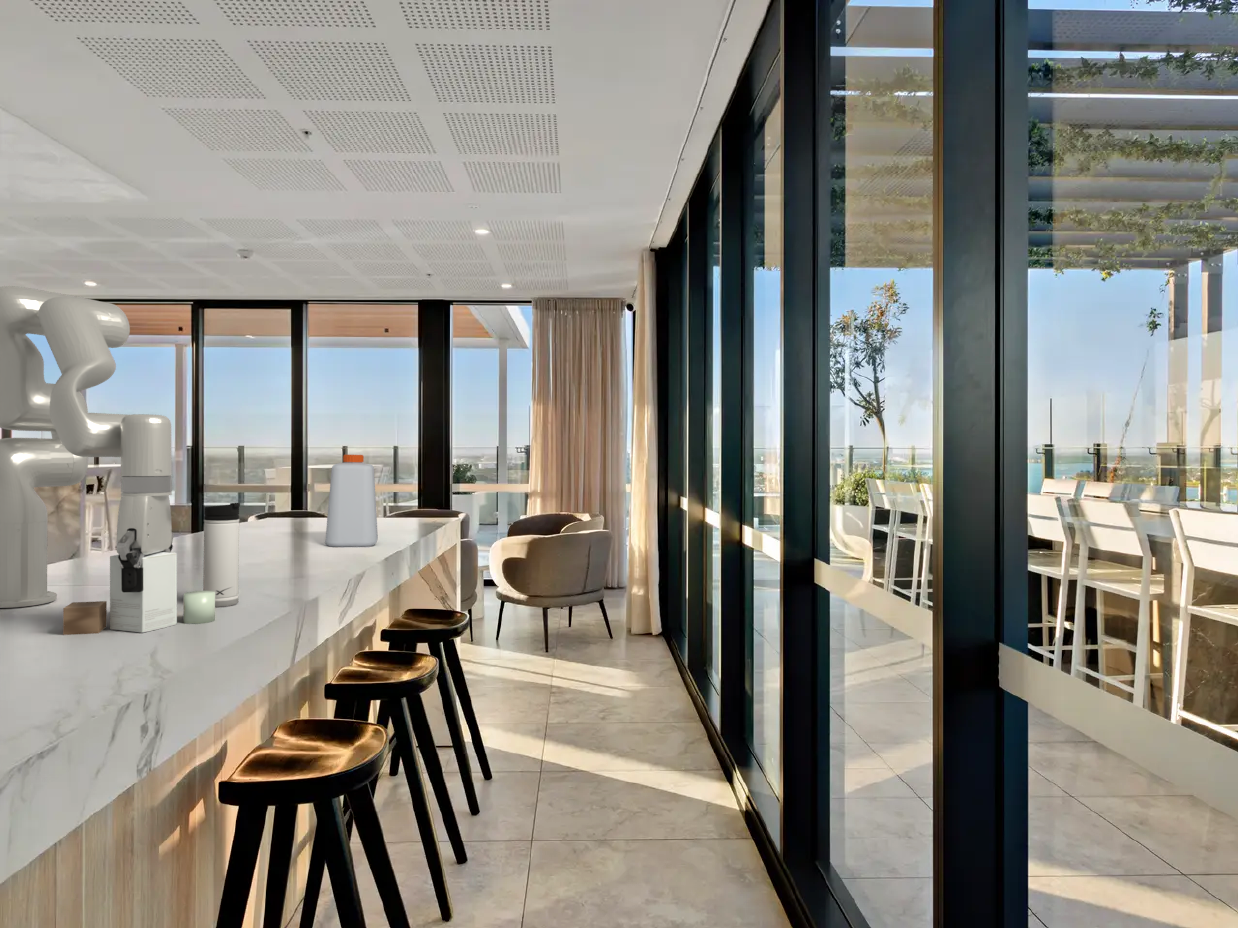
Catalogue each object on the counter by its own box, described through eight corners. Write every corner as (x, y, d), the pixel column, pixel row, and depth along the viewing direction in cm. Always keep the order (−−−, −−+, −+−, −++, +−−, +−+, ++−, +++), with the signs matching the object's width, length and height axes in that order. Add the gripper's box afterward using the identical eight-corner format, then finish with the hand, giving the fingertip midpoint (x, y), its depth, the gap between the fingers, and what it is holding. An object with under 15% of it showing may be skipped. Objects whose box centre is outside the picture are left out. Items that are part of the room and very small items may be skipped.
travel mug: (225, 608, 157) (227, 504, 157) (195, 606, 159) (196, 502, 158) (246, 602, 163) (248, 501, 163) (217, 600, 165) (218, 500, 164)
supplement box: (178, 624, 143) (179, 552, 143) (141, 633, 136) (142, 557, 136) (145, 621, 145) (146, 549, 145) (107, 629, 138) (108, 554, 138)
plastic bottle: (329, 541, 262) (330, 453, 262) (378, 541, 266) (379, 454, 265) (323, 547, 248) (325, 454, 247) (376, 547, 251) (377, 455, 251)
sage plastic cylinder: (178, 624, 144) (178, 595, 143) (190, 618, 149) (191, 590, 148) (207, 624, 144) (208, 595, 144) (219, 618, 149) (219, 590, 149)
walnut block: (63, 635, 134) (63, 608, 134) (72, 628, 139) (72, 602, 139) (98, 633, 136) (98, 606, 136) (106, 627, 140) (106, 601, 140)
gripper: (148, 485, 148) (149, 579, 149) (95, 489, 131) (96, 596, 131) (191, 485, 149) (192, 579, 149) (144, 489, 132) (144, 595, 132)
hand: (147, 587), depth 140 cm, fingers open, 9 cm apart
